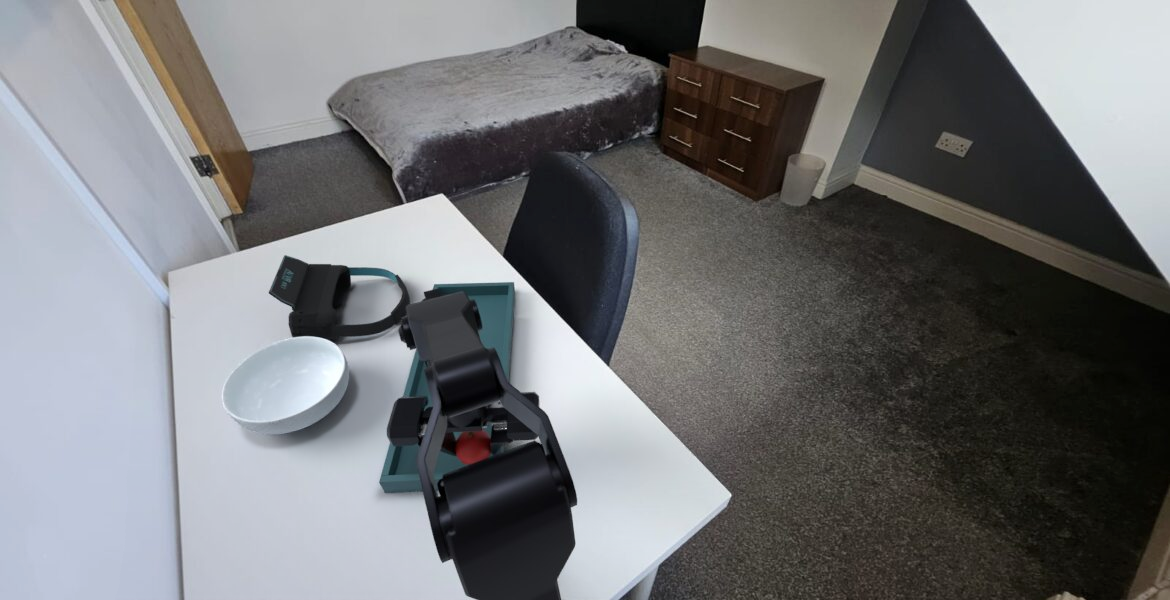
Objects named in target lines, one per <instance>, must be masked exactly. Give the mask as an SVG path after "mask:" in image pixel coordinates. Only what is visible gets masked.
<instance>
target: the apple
mask: <svg viewBox="0 0 1170 600" xmlns="http://www.w3.org/2000/svg"><path fill="white" fill-rule="evenodd" d="M490 441H491V438H490V436H489V434H488V433H487V432H486V431H484V430H482V431H469V432H463V433H461V435H460V436H459V437H458V439H457V441H456V445H455V451H456V454H457V457H458V458H459V460H460V461H461V462H463V463H464V464H467V465H470V464H473V463H475V462H478V461H481V460H483V459H486V458H488V457H489V455H490V453H491V446H490Z"/></svg>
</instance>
